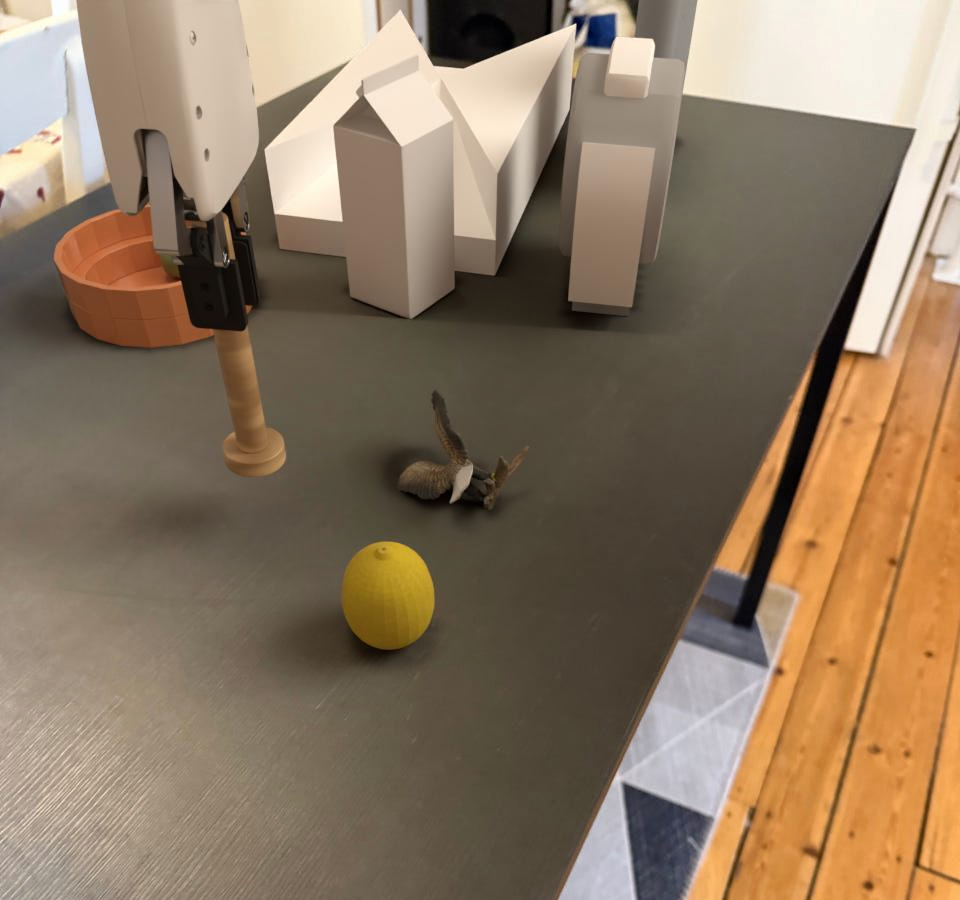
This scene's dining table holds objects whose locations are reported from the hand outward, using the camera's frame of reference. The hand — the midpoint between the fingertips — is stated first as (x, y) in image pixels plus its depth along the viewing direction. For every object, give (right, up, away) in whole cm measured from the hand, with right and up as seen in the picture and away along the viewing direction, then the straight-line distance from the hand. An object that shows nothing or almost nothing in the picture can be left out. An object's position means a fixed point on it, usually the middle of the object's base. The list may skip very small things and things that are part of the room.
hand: (226, 312), depth 53 cm
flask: (+33, +35, +53) cm, 71 cm away
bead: (-14, +16, +32) cm, 39 cm away
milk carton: (+7, +13, +34) cm, 37 cm away
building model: (+10, +35, +52) cm, 64 cm away
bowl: (-14, +12, +31) cm, 36 cm away
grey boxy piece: (+27, +15, +35) cm, 47 cm away
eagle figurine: (+13, -8, +15) cm, 21 cm away
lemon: (+9, -19, +5) cm, 22 cm away
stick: (0, -7, +8) cm, 11 cm away
